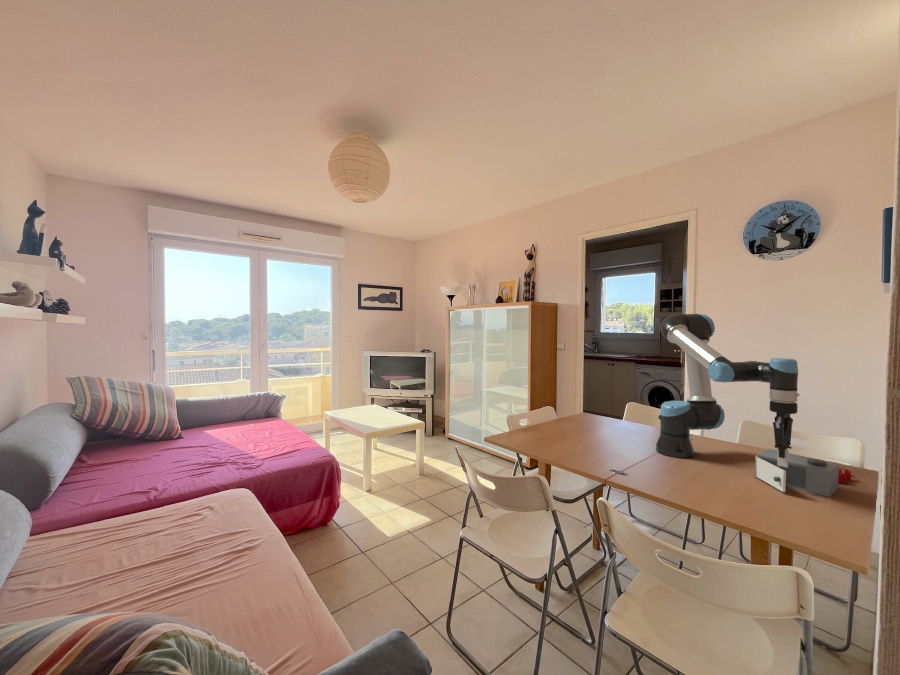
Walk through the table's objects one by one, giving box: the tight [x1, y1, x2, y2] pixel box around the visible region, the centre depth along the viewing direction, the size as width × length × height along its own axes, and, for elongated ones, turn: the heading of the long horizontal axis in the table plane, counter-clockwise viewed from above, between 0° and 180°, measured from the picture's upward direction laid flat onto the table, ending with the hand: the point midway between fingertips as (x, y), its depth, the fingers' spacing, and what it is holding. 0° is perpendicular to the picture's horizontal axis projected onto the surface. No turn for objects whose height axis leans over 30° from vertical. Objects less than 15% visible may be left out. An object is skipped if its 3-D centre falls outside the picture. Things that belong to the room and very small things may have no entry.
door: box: [754, 454, 787, 493], centre depth 137 cm, size 14×2×8 cm, turn 174°
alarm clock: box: [838, 467, 861, 485], centre depth 144 cm, size 10×6×15 cm
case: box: [756, 448, 840, 498], centre depth 139 cm, size 20×12×10 cm, turn 34°
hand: (782, 466), depth 135 cm, fingers closed
